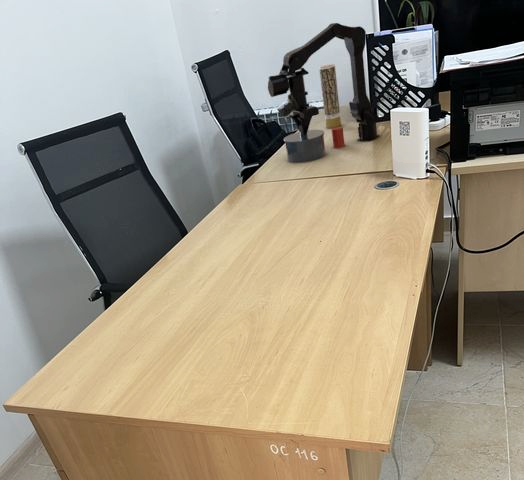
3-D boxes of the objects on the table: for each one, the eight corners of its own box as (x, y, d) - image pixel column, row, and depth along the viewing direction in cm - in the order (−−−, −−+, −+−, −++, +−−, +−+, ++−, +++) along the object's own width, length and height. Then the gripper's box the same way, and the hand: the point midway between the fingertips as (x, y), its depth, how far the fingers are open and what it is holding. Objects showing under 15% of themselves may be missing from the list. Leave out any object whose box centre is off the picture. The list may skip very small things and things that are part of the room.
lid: (327, 130, 212) (326, 116, 209) (320, 141, 200) (318, 127, 197) (289, 136, 217) (287, 122, 215) (279, 147, 205) (277, 132, 202)
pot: (328, 149, 216) (325, 129, 212) (321, 160, 204) (319, 139, 200) (293, 153, 220) (290, 134, 216) (284, 164, 209) (281, 144, 205)
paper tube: (340, 127, 243) (334, 65, 229) (325, 129, 245) (318, 68, 231) (341, 123, 248) (335, 63, 235) (327, 126, 250) (319, 66, 236)
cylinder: (346, 144, 216) (344, 126, 212) (340, 148, 213) (338, 129, 210) (337, 144, 219) (335, 126, 215) (331, 148, 216) (329, 129, 212)
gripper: (267, 94, 205) (274, 136, 213) (289, 97, 190) (296, 143, 198) (293, 87, 208) (299, 129, 216) (316, 89, 193) (322, 134, 201)
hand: (303, 134), depth 208 cm, fingers closed on lid, 3 cm apart
